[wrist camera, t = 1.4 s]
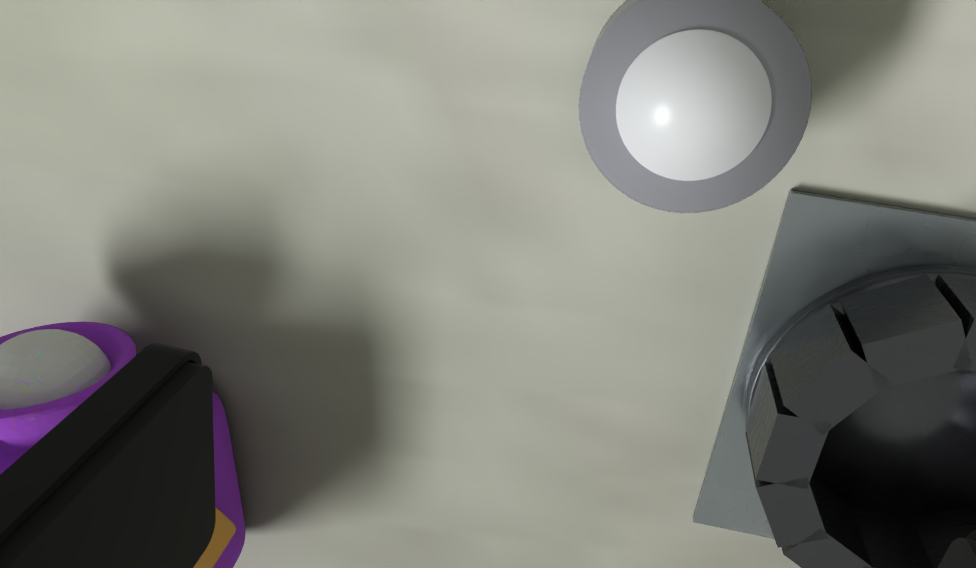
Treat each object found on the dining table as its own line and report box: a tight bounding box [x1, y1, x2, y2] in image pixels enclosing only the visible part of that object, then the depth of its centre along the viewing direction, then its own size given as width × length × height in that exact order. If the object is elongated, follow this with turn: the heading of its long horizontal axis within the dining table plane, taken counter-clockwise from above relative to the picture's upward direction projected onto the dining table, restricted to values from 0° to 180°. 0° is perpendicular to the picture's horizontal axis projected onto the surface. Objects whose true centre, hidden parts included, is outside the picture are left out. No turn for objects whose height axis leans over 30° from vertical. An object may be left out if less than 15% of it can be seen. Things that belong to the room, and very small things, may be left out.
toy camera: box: [0, 322, 245, 568], centre depth 30 cm, size 11×14×10 cm
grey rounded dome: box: [579, 0, 812, 213], centre depth 23 cm, size 6×6×4 cm
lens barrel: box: [693, 190, 976, 568], centre depth 26 cm, size 14×12×4 cm
